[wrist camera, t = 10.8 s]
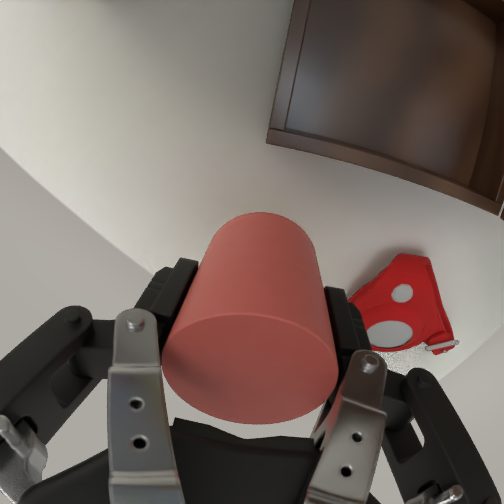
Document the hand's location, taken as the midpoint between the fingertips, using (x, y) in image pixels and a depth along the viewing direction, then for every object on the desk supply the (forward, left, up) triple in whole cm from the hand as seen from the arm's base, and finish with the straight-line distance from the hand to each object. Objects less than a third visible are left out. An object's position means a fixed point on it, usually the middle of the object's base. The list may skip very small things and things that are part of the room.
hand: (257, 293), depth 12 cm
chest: (+7, +13, -9) cm, 17 cm away
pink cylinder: (0, 0, -2) cm, 2 cm away
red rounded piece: (+13, -6, -9) cm, 17 cm away
